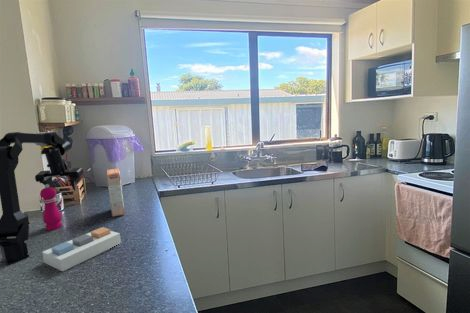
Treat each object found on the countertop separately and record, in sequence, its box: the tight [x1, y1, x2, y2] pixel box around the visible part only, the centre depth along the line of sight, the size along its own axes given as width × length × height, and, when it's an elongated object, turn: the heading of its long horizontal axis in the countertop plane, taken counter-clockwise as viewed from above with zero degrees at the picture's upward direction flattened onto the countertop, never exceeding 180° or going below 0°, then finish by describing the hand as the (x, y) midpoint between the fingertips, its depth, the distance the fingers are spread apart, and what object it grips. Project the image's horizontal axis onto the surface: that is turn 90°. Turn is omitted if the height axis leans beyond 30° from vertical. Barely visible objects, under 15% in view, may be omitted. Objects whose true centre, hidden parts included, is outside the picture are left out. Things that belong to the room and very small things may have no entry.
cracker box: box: [106, 168, 125, 218], centre depth 148 cm, size 14×6×21 cm, turn 22°
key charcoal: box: [71, 233, 93, 247], centre depth 107 cm, size 5×5×3 cm
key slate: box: [50, 241, 74, 256], centre depth 102 cm, size 5×5×3 cm
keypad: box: [41, 230, 122, 272], centre depth 108 cm, size 22×12×4 cm, turn 147°
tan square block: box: [90, 226, 111, 239], centre depth 113 cm, size 5×5×3 cm
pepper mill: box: [39, 184, 63, 231], centre depth 133 cm, size 7×7×20 cm
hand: (64, 191), depth 137 cm, fingers open, 9 cm apart
